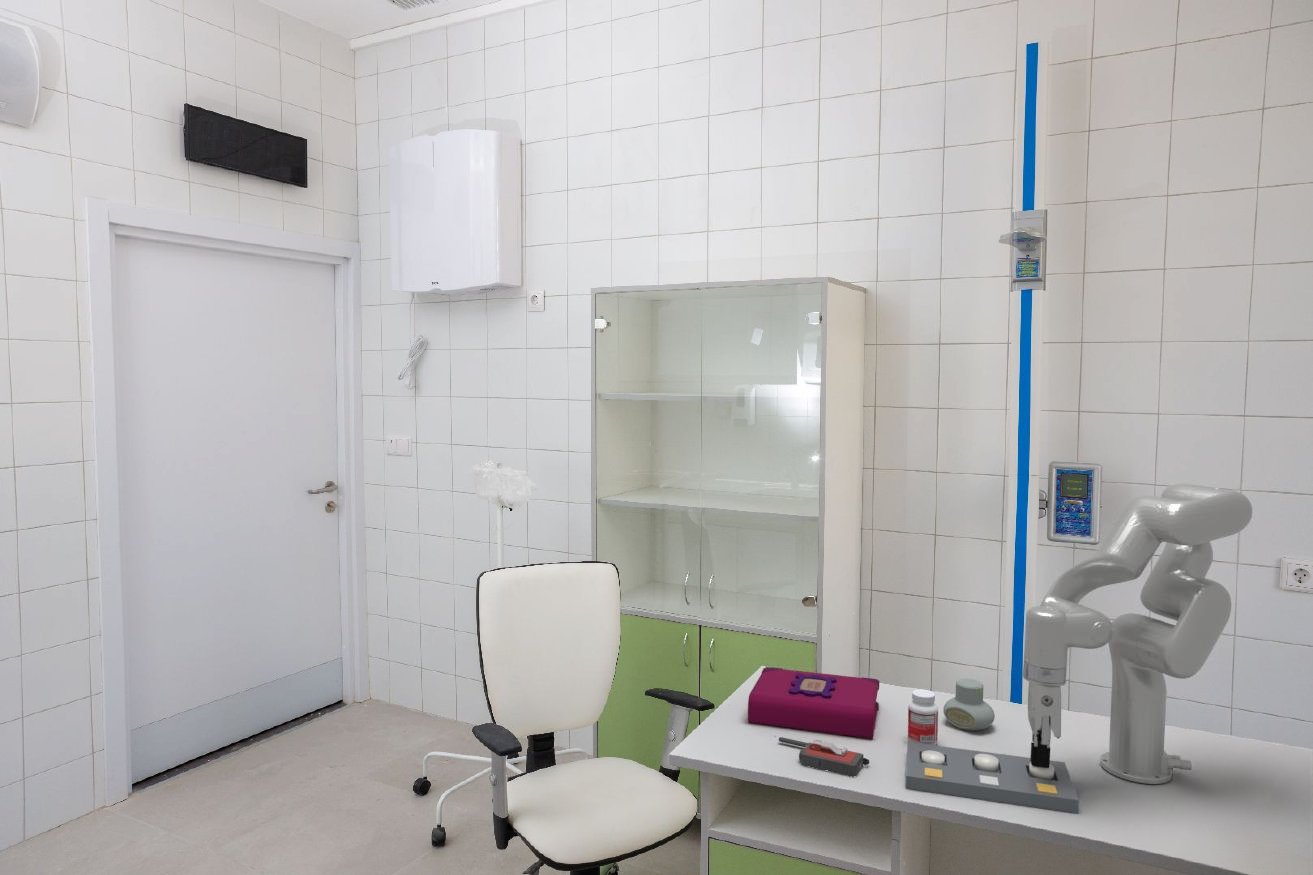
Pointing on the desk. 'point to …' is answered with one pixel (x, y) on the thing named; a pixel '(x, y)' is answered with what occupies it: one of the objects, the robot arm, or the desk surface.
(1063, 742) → the desk surface
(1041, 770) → the near button
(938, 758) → the far button
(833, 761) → the walkie-talkie
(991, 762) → the middle button
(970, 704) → the air freshener
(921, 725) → the pill bottle
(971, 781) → the button board
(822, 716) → the book
